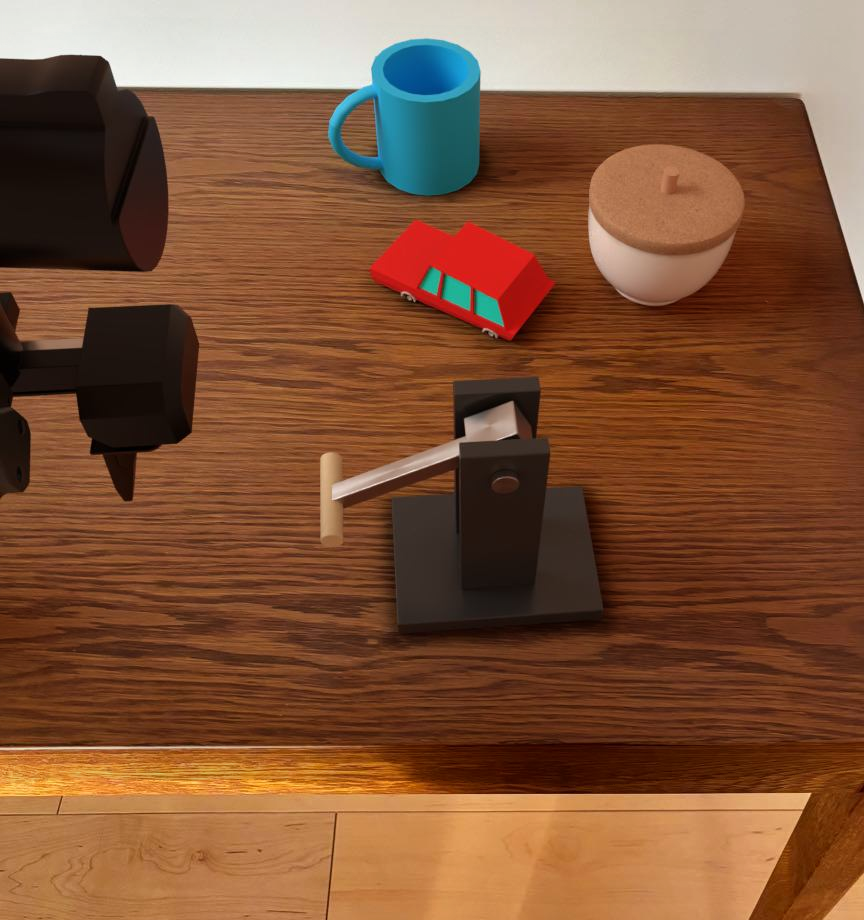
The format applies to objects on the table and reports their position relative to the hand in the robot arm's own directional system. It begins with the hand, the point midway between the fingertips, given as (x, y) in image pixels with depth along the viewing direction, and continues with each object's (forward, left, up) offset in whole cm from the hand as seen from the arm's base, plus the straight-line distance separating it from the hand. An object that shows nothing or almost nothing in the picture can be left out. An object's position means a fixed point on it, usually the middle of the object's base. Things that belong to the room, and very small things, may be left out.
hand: (31, 500), depth 49 cm
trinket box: (+34, +30, -12) cm, 47 cm away
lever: (+19, +4, -3) cm, 20 cm away
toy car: (+20, +28, -12) cm, 37 cm away
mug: (+15, +42, -12) cm, 46 cm away
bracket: (+22, +5, -12) cm, 26 cm away
